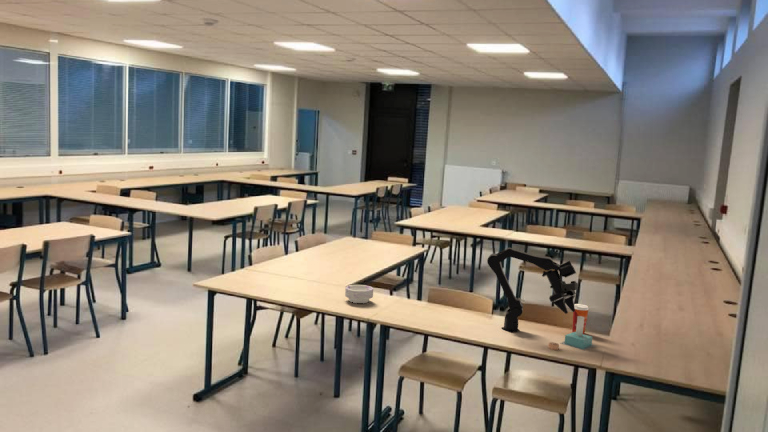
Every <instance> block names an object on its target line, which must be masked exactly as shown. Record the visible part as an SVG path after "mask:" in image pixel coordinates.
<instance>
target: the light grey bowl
mask: <svg viewBox="0 0 768 432" xmlns="http://www.w3.org/2000/svg"><path fill="white" fill-rule="evenodd" d="M344 295H345V297H346V298H348V300H349V302H350V303H352V302H353V304H357V303H363V304H367V303H368V302H369V301H370V299H372V298H373V297H374V288H373V287H372V286H370V285H366V284H350V285H348V286H347V285H346V286H345V293H344Z"/></svg>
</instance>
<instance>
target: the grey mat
mask: <svg viewBox="0 0 768 432" xmlns="http://www.w3.org/2000/svg"><path fill="white" fill-rule="evenodd" d="M564 343H565V340H564V341H562V342H560V343H559V345H560V344H561V345H564V346H566V347H567V346H568V347H570V348H573V349H577V350H581V351H587V350H589V349H591V348H594V347H596V346H597V345H596V344H593V343H592V345H591V346H588V347H586V348H584V349H581V348H578V347H574V346H571V345H568V344H564Z"/></svg>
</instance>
